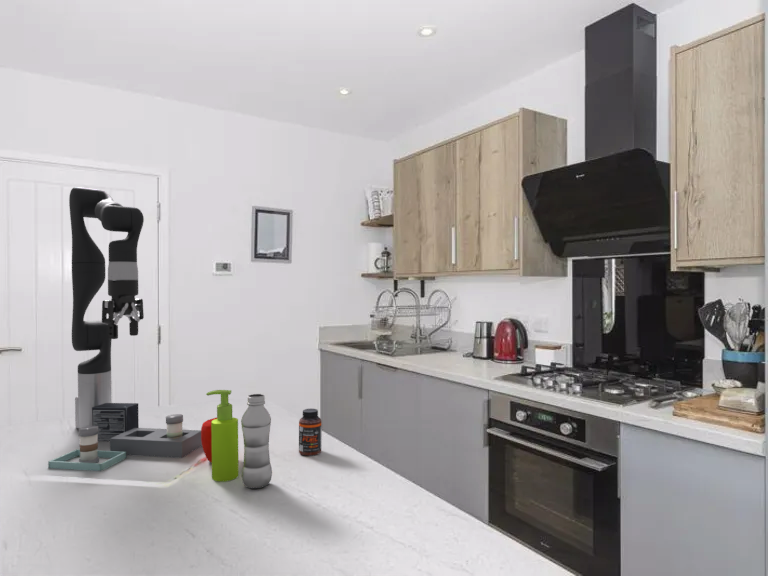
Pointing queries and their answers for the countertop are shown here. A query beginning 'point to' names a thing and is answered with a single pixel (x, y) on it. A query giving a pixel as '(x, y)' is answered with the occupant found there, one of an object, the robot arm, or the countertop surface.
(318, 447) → the supplement bottle
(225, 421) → the soap dispenser
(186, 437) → the block
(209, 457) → the apple
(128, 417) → the small box
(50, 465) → the tray
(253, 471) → the plastic bottle
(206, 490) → the countertop surface
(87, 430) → the fuse
